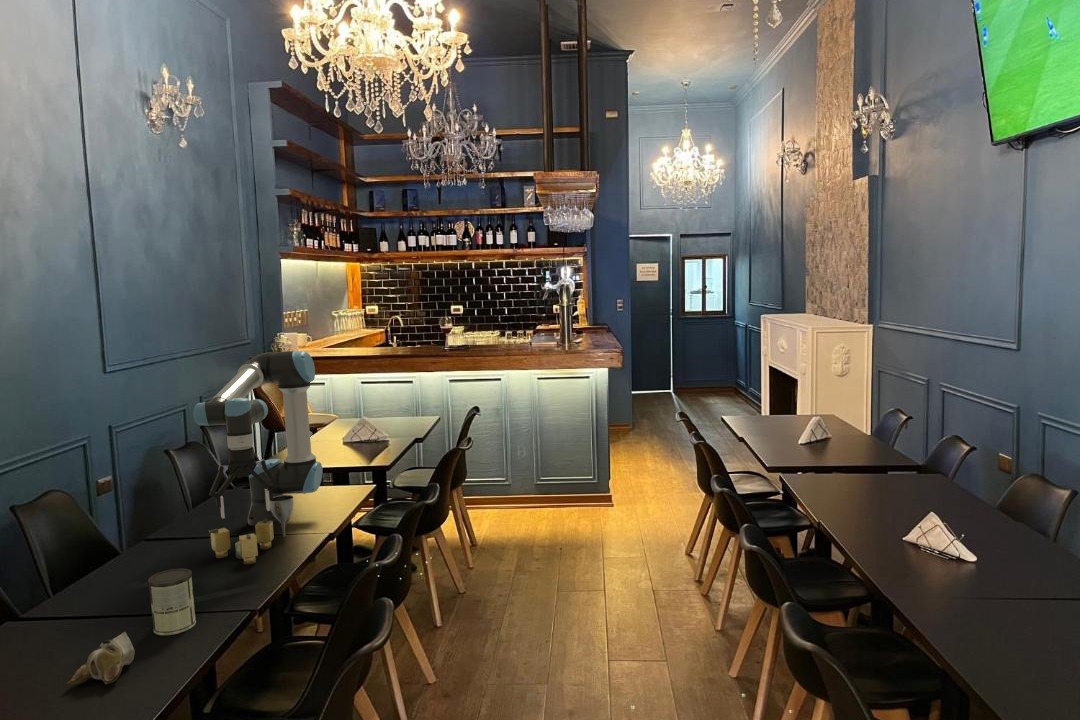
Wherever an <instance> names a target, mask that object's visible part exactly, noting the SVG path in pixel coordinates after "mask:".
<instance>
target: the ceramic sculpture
mask: <svg viewBox="0 0 1080 720" xmlns="http://www.w3.org/2000/svg"><path fill="white" fill-rule="evenodd" d="M135 651H136V650H135V648H134V646H133V643H132V642H131V639H130V637H129V636H128V634H127V632H126V631H124V632H122V633H121V634H118V636H116V637H114V638H112V639H105V640H103V641H102V642H101V643H100V645H99V647H97V648H95V649H94V650H93V651H92V652H91V653H90V654H89V655H88V657H87V661H86V663H85V664H83V665H81V666H80V667H79V668H78V669H77V670H76V671H75V673H74V674H73V676H72V677H71V678H70V680H69V681H67V682H66V685H77V684H82V683H84V682H87V680H89V679H90V678H92V679H95V680H101V681H103V683H104V685H108V684H112V683H114V682H115V681H117V680H118V678H119V677H120V675H121V673H122V670H123V668H124V666H128V665H130V664H131V663H132V662H133V660H134V658H135Z"/></svg>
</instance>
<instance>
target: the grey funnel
mask: <svg viewBox="0 0 1080 720" xmlns="http://www.w3.org/2000/svg"><path fill="white" fill-rule="evenodd" d="M269 501H270V508H271V512H272V514H273V516H274V517H275V518H276V519H277V520H279V522H280V523H281V524H280V525H281V528H282V537H286V524H287V522H288V521H287V519H288V518H289V517H290V518H291V516H292V513H293V511H294V503H295V502H294V496H293V495H291V494H283V495H280V496H275V497H273V498H272V499H271V500H269Z"/></svg>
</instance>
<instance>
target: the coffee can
mask: <svg viewBox="0 0 1080 720" xmlns="http://www.w3.org/2000/svg"><path fill="white" fill-rule="evenodd" d="M192 575H193V571H192V570H191V569H188V568H181V567H180V568H170V569H166V570H163V571H159V572H157V573H155V574H153V575H151V576H150V577H149V578H148V580H147V582H148V584H149V586H148V587H149V596H150V606H151V616H152V624H153V625H152V626H153V633H154V634H155V635H158V636H172V635H173V636H174V635H177V634H181V633H183V632H187V631H188V630H190V629H192V628H193V627H195V626H196V624H197V620H196V611H195V602H194V589H193V580H192V579H193V578H192Z"/></svg>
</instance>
